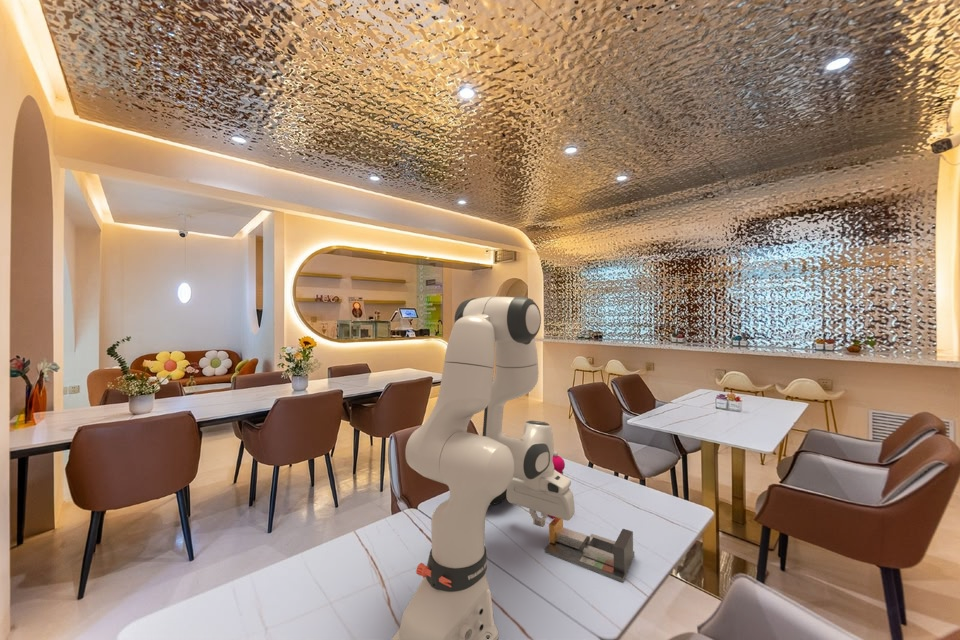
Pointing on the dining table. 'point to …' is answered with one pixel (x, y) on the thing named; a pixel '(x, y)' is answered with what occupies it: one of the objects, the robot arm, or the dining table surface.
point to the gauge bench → (600, 555)
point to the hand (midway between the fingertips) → (539, 525)
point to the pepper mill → (558, 466)
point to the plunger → (567, 535)
